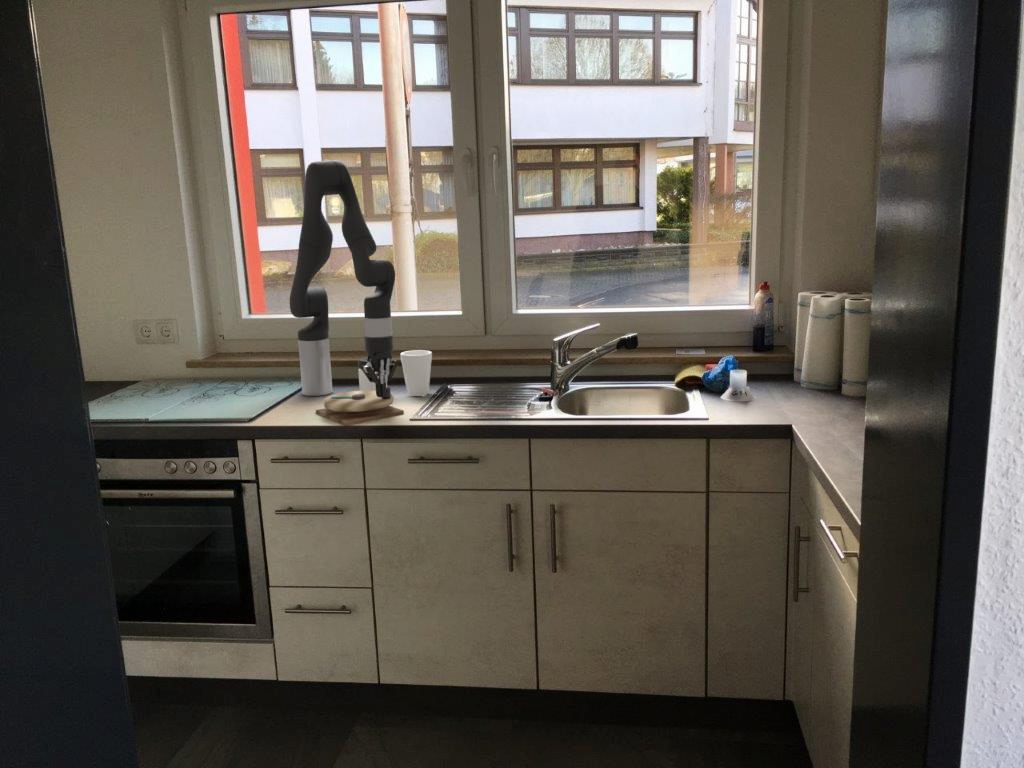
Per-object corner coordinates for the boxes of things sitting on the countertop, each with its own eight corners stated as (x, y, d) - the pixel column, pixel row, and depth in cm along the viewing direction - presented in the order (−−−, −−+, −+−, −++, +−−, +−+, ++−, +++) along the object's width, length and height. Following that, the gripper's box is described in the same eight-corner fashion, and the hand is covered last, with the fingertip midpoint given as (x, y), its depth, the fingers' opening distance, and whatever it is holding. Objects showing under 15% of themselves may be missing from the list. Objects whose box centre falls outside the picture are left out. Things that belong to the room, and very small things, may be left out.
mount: (315, 413, 235) (315, 404, 234) (372, 402, 246) (371, 394, 245) (345, 425, 221) (344, 415, 220) (403, 413, 232) (403, 404, 231)
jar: (365, 402, 247) (363, 362, 244) (355, 397, 254) (352, 358, 251) (393, 397, 252) (391, 358, 249) (381, 393, 258) (379, 355, 256)
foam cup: (431, 397, 251) (429, 355, 248) (400, 398, 251) (398, 356, 248) (434, 390, 260) (432, 349, 257) (405, 391, 260) (403, 350, 257)
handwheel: (314, 411, 225) (313, 395, 224) (336, 395, 243) (335, 380, 242) (382, 411, 222) (381, 395, 221) (400, 395, 241) (399, 380, 240)
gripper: (372, 337, 218) (375, 402, 221) (404, 332, 229) (407, 393, 232) (351, 336, 222) (354, 399, 225) (384, 330, 233) (387, 391, 236)
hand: (381, 396), depth 228 cm, fingers closed
